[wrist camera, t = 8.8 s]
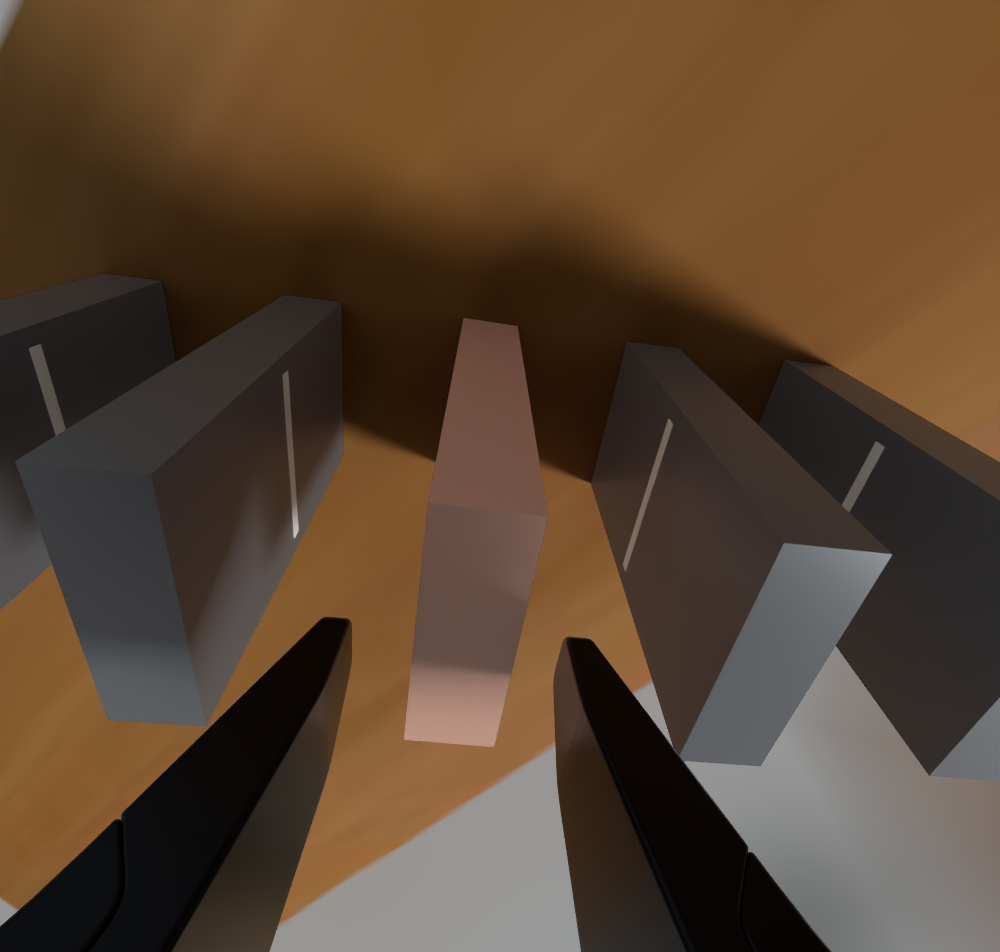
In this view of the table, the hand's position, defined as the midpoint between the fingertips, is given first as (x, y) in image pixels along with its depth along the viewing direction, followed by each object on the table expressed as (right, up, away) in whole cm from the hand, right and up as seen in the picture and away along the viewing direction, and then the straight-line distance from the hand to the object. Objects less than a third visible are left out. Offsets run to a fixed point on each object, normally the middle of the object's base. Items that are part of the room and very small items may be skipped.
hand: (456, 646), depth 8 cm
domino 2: (+5, +4, +9) cm, 11 cm away
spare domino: (0, +5, +9) cm, 10 cm away
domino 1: (+10, +4, +9) cm, 14 cm away
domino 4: (-5, +6, +8) cm, 11 cm away
